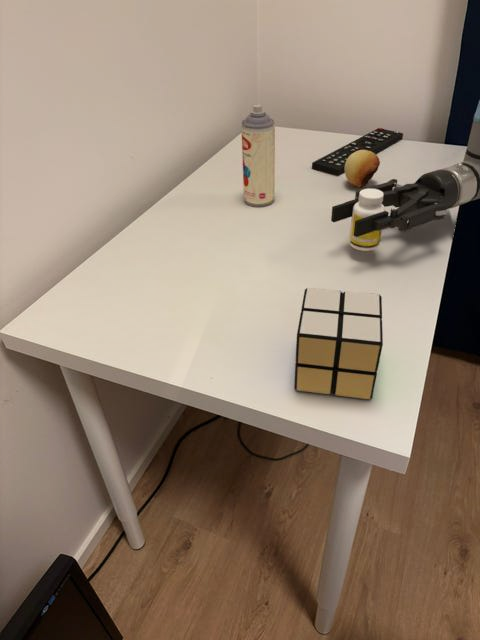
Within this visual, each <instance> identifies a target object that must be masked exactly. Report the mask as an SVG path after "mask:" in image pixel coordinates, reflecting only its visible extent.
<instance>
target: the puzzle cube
mask: <svg viewBox="0 0 480 640" xmlns="http://www.w3.org/2000/svg"><path fill="white" fill-rule="evenodd" d="M382 300H383V299H382V295H381V294H379V293H370V292H369V293H368V292H357V291H347V290H346V291H341V290H338V289H337V290H335V289H325V288H314V287H313V288H312V287H306V288H305V289H304V292H303V298H302V303H301V308H300V309H301V310H300V315H299V321H298V326H297V332H296V343H295V344H296V345H295V364H294V365H295V367H294V385H293V386H294V387H293V388H294V390H295V391H298V392H306V393H314V394H323V395H324V394H325V395H332V394H333V395H334V396H337V397H347V398H354V399H363V400H364V399H365V400H372V399H373V398H374V397H373V396H374V392H375V391H374V390H375V386H376V381H377V376H378V369H379V365H380V361H381V354H382V350H383V345H384V339H383V336H384V335H383V334H384V333H383V304H382V303H383V301H382Z"/></svg>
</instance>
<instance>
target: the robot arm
mask: <svg viewBox="0 0 480 640" xmlns="http://www.w3.org/2000/svg"><path fill="white" fill-rule="evenodd" d="M475 110H476V111H475V113H474V115H473V121H472V124H471V129H470V133H469V138H468V142H467V146H466V150H465V153H464V157H463V161H461V162H458V163H456V164H454V165H451V166H447V167H443V168H440V169H436V170H433V171H429V172H426V173H424V174H422V175H421V176H419V177H418V179H416V181H415V182H414V183H406V184H403V185H402V184H399V183H398V179H396V178H392V179H390V180H388V181H387V182H383V183H380V184H376V185H372V186H368V187H364V188H362V189H358V190H355V195H354V199H351V200H347V201H345V202H343V203H339V204H336V205H333V206H332V208H331V217H330V221H331V222H332V223H337V222H339V221H343V220H347V219H349V218H352V213H353V207H354V205H355V204H356V203H357V202H359V193H360V191H361V190H363V189H377V190H380V191H382V192H383V194H384V196H383V201H382V203H381V204H383V206H384V207H385V208H386V207H394V208H395V209H394V208H390V214H389V211H387V210H385V211H384V212H380V213H377V214H374V215H371V216H368V217H365V218H362V219H359V220H356V221H355V227H354V236H355V237H358V236H361V235H364V234H367V233H370V232H373V231H380V230H385V229H388V228H390V229H395V228H398V231H399V232H401V233H403V232H407V231H409V230H413V229H414V228H417V227H420V226H422V225H425V224H428V223H430V222H433V221H438V220H444V219H445V217H446V214H447V211H448V210H451V209H454V208H456V207H459V206H462V205H465V204H467V203H469V202H472V201H476V200H479V199H480V100H479V101H478V103H477V107H476V109H475Z"/></svg>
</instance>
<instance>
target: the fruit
mask: <svg viewBox="0 0 480 640" xmlns="http://www.w3.org/2000/svg"><path fill="white" fill-rule="evenodd" d="M380 164H381V160H380V157H379V156H378V154H375V153H373V152H371V151H367V150H359V151H356V152H354V153H352V154H351V155H350V156H349V157H348V159H347V161H346V163H345V173H344V175H345V177H346V179H347V181H348V182H349V183H350V184H351V185H352V186H355V187H356V188H362V187H365V186H366V185H368V184H369V182H370V180H372V178H373V177H374V175H375V174H376V173H377V172H378V169H379V166H380Z"/></svg>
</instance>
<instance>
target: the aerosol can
mask: <svg viewBox="0 0 480 640" xmlns="http://www.w3.org/2000/svg"><path fill="white" fill-rule="evenodd" d="M252 106H253V107H252V108H253V109H252V111H251V112H250V113H249V114H248V115H247V116H246V118H245V119H243V120H242V121H241V127H240V128H241V129H240V130H241V153H242V157H241V158H242V180H243V181H242V183H243V203H244V204H245V205H247V206H249V207H252V208H264V207H265V208H266V207H268V206H271V205H272V204H274V202H275V193H276V192H275V187H276V186H275V185H276V181H275V180H276V178H275V177H276V173H275V172H276V125H275V120H274V119H273V118H271V117H270V116H269V114H267V113H266V112H265V111H264V110H263V105H262V104H254V105H252Z"/></svg>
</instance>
